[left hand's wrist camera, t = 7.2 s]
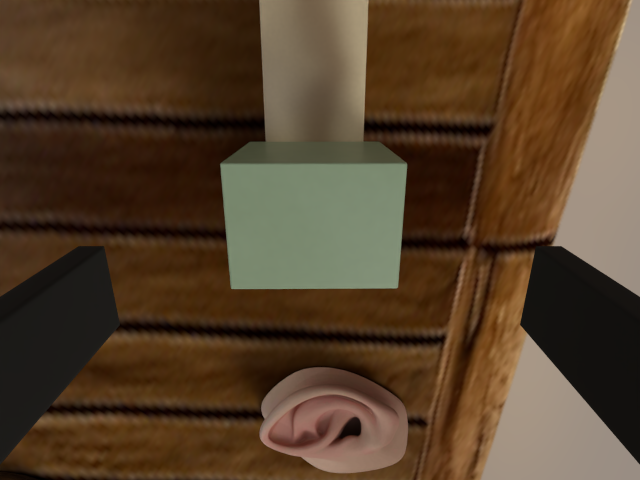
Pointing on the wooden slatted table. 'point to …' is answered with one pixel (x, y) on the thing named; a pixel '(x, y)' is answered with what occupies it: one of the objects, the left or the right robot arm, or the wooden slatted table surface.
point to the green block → (313, 215)
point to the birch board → (314, 69)
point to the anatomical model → (335, 421)
